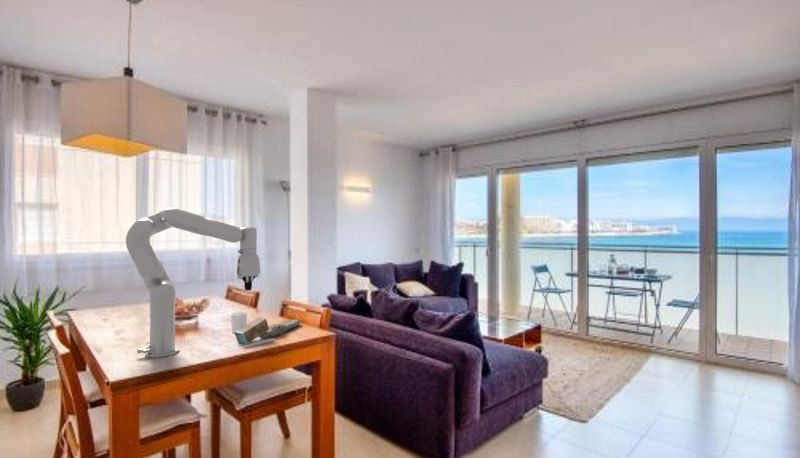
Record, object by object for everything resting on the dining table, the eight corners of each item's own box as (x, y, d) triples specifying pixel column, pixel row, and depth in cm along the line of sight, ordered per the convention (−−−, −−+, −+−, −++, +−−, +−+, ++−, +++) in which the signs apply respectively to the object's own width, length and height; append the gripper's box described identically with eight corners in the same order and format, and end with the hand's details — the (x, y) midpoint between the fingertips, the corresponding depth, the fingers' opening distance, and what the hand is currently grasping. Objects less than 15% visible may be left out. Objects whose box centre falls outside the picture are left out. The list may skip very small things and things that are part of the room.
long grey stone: (305, 326, 233) (289, 326, 235) (305, 317, 233) (289, 317, 235) (270, 339, 199) (252, 338, 201) (270, 328, 199) (252, 327, 202)
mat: (234, 350, 184) (234, 349, 184) (221, 345, 191) (221, 344, 191) (276, 340, 201) (276, 339, 201) (262, 335, 209) (262, 335, 209)
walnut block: (241, 333, 190) (266, 318, 200) (234, 331, 193) (258, 317, 204) (245, 345, 191) (269, 329, 202) (237, 342, 195) (261, 327, 206)
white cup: (237, 335, 209) (237, 315, 209) (227, 333, 214) (227, 314, 213) (250, 331, 216) (250, 313, 216) (240, 329, 220) (240, 311, 220)
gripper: (238, 253, 190) (238, 292, 191) (266, 251, 202) (266, 288, 202) (229, 252, 195) (229, 291, 195) (257, 251, 207) (257, 287, 207)
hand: (248, 289), depth 199 cm, fingers closed
